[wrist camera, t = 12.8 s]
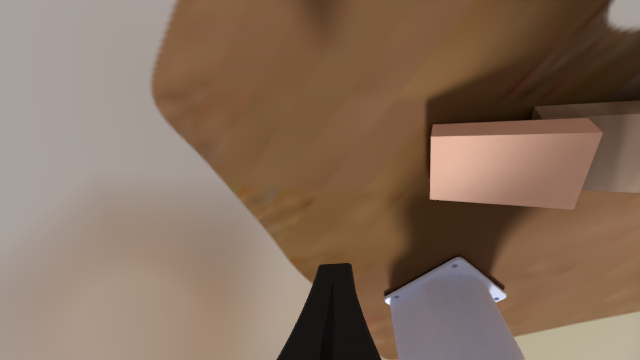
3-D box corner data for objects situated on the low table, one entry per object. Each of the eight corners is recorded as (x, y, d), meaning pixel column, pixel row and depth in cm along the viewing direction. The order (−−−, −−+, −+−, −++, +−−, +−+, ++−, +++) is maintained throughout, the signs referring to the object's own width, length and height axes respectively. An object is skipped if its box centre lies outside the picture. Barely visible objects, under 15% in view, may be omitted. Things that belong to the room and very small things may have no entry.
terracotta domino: (429, 199, 19) (573, 209, 16) (430, 136, 17) (602, 132, 13) (431, 184, 21) (563, 190, 17) (432, 124, 18) (587, 117, 15)
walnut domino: (524, 187, 18) (701, 195, 15) (541, 117, 15) (761, 108, 12) (519, 171, 20) (678, 176, 16) (534, 106, 17) (727, 95, 14)
